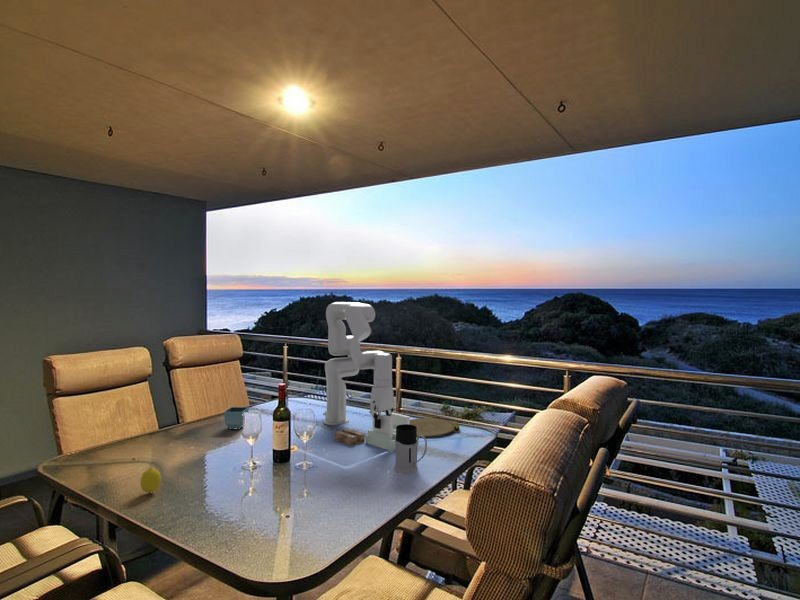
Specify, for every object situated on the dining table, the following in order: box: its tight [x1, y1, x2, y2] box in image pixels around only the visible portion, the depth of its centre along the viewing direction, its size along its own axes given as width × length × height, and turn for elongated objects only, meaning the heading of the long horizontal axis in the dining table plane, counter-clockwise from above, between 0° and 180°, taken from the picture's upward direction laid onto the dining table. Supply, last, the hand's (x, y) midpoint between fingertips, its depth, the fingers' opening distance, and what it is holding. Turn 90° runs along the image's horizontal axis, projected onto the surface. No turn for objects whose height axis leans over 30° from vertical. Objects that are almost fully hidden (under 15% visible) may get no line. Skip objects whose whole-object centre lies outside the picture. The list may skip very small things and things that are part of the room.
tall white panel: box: [371, 412, 393, 440], centre depth 180 cm, size 10×2×12 cm, turn 50°
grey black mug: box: [393, 424, 428, 475], centre depth 154 cm, size 9×14×15 cm, turn 44°
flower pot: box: [223, 406, 250, 430], centre depth 203 cm, size 9×9×9 cm
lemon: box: [140, 467, 162, 493], centre depth 135 cm, size 6×6×8 cm
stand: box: [333, 428, 366, 447], centre depth 184 cm, size 12×8×4 cm, turn 49°
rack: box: [364, 411, 411, 453], centre depth 184 cm, size 14×17×11 cm
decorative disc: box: [410, 417, 460, 438], centre depth 205 cm, size 29×3×30 cm
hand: (382, 426), depth 179 cm, fingers open, 5 cm apart
